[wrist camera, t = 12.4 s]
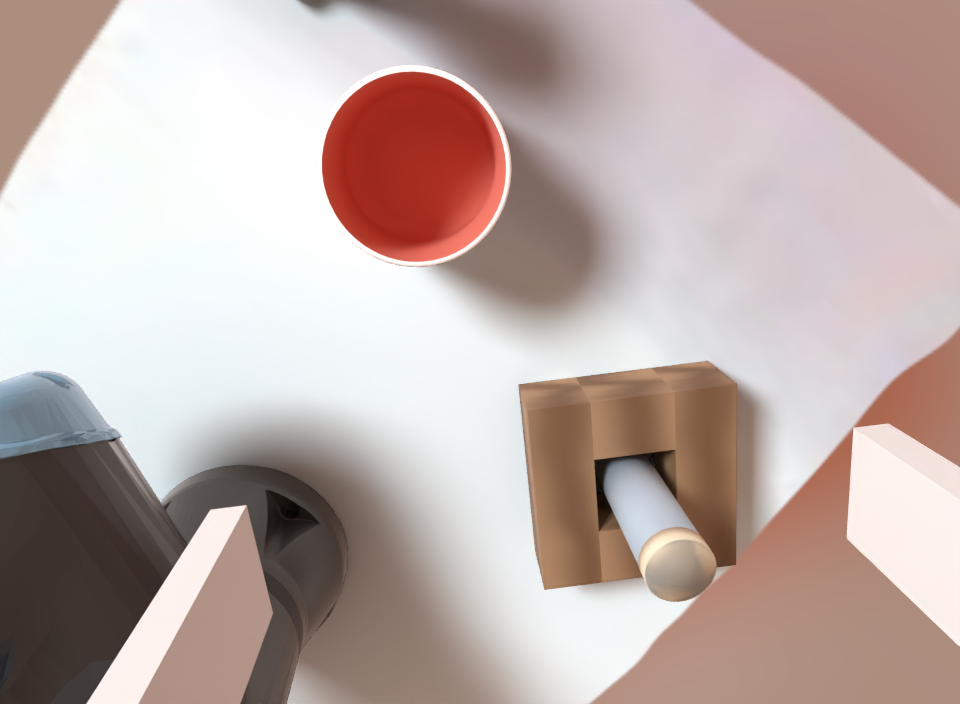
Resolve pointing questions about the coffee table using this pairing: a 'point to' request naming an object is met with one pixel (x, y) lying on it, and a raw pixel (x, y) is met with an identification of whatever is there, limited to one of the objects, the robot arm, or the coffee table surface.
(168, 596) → the robot arm
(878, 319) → the coffee table surface
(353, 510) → the coffee table surface
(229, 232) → the coffee table surface
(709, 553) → the peg
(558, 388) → the socket block
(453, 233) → the cup
